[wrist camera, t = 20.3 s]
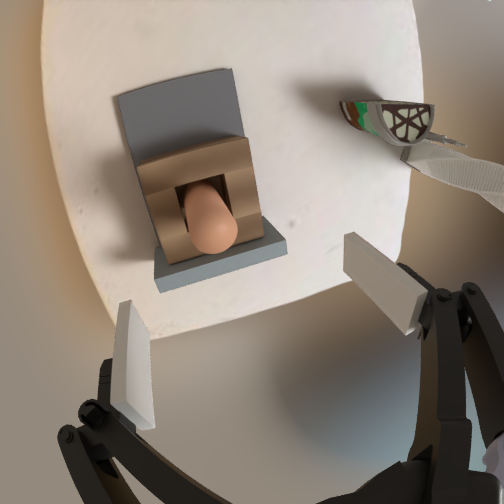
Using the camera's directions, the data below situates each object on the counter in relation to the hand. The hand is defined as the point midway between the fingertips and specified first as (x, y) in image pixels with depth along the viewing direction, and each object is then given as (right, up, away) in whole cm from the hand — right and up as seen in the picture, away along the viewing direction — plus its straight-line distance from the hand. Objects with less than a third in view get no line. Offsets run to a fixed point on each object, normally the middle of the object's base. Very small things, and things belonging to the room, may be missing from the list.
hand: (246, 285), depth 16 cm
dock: (-7, +13, +17) cm, 23 cm away
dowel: (-6, +9, +17) cm, 20 cm away
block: (-6, +9, +18) cm, 21 cm away
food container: (+18, +23, +21) cm, 36 cm away
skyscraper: (+31, +21, +27) cm, 46 cm away
